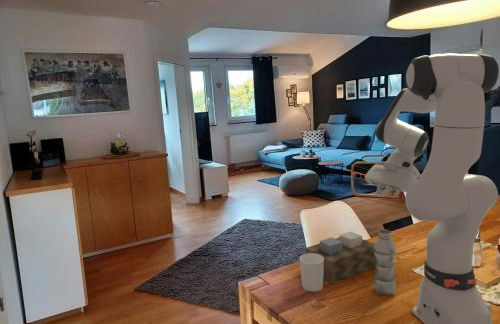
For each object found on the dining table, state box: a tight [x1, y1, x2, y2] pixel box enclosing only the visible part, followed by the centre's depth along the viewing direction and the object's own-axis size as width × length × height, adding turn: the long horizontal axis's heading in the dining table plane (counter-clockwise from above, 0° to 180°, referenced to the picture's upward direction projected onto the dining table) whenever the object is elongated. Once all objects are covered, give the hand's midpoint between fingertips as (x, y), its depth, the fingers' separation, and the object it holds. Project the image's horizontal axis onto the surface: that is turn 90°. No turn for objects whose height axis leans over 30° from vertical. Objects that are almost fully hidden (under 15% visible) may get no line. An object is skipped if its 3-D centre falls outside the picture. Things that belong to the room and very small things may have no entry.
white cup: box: [299, 253, 324, 292], centre depth 119 cm, size 8×8×10 cm
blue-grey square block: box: [319, 237, 343, 255], centre depth 128 cm, size 6×6×4 cm
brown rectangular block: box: [305, 236, 376, 285], centre depth 131 cm, size 22×14×8 cm, turn 120°
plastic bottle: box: [373, 229, 397, 296], centre depth 112 cm, size 6×7×20 cm
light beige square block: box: [339, 231, 363, 249], centre depth 132 cm, size 6×6×4 cm
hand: (379, 195), depth 136 cm, fingers closed
